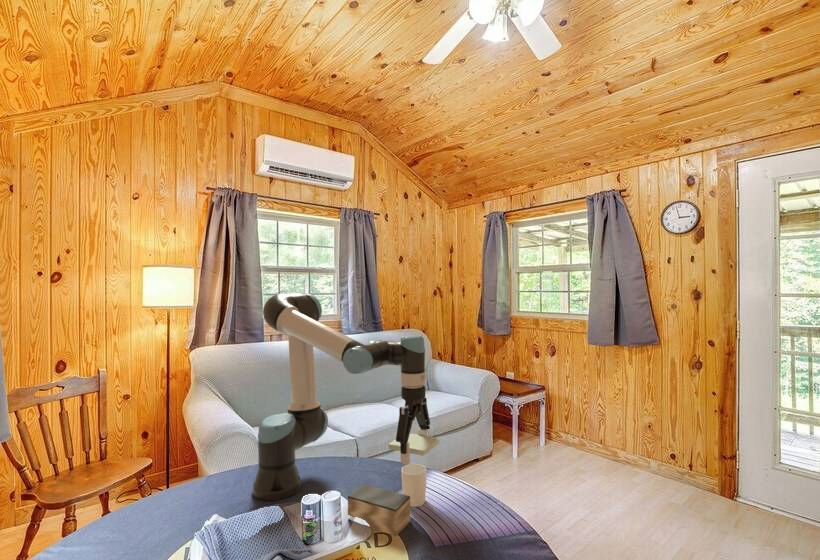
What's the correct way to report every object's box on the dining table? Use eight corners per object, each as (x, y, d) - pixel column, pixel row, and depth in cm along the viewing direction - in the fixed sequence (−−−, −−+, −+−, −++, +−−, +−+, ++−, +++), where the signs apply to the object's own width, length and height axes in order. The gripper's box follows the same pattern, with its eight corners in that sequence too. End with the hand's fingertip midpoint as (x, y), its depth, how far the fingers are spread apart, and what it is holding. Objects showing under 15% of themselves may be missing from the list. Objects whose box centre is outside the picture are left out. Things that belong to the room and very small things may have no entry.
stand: (347, 520, 119) (347, 495, 119) (363, 507, 126) (363, 484, 126) (396, 536, 111) (396, 509, 111) (410, 521, 118) (410, 496, 118)
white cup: (427, 495, 132) (427, 464, 132) (426, 508, 124) (425, 475, 125) (403, 494, 133) (402, 463, 133) (400, 507, 125) (399, 474, 125)
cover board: (388, 448, 127) (388, 443, 127) (405, 437, 137) (405, 432, 137) (423, 455, 121) (423, 450, 121) (439, 443, 131) (439, 438, 131)
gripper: (405, 395, 117) (406, 473, 117) (439, 379, 138) (440, 445, 137) (383, 392, 121) (384, 468, 120) (419, 377, 141) (420, 441, 141)
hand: (414, 456), depth 129 cm, fingers closed on cover board, 11 cm apart
